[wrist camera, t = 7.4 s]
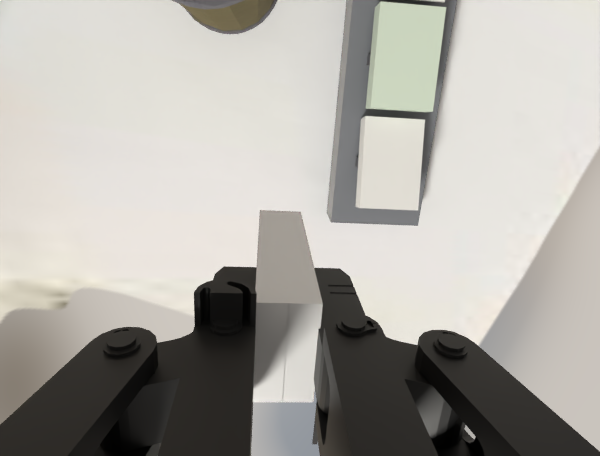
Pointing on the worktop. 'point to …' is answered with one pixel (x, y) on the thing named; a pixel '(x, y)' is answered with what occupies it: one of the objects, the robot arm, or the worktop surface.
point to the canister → (228, 13)
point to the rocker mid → (405, 56)
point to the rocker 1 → (389, 163)
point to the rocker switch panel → (354, 110)
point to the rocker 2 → (434, 0)
